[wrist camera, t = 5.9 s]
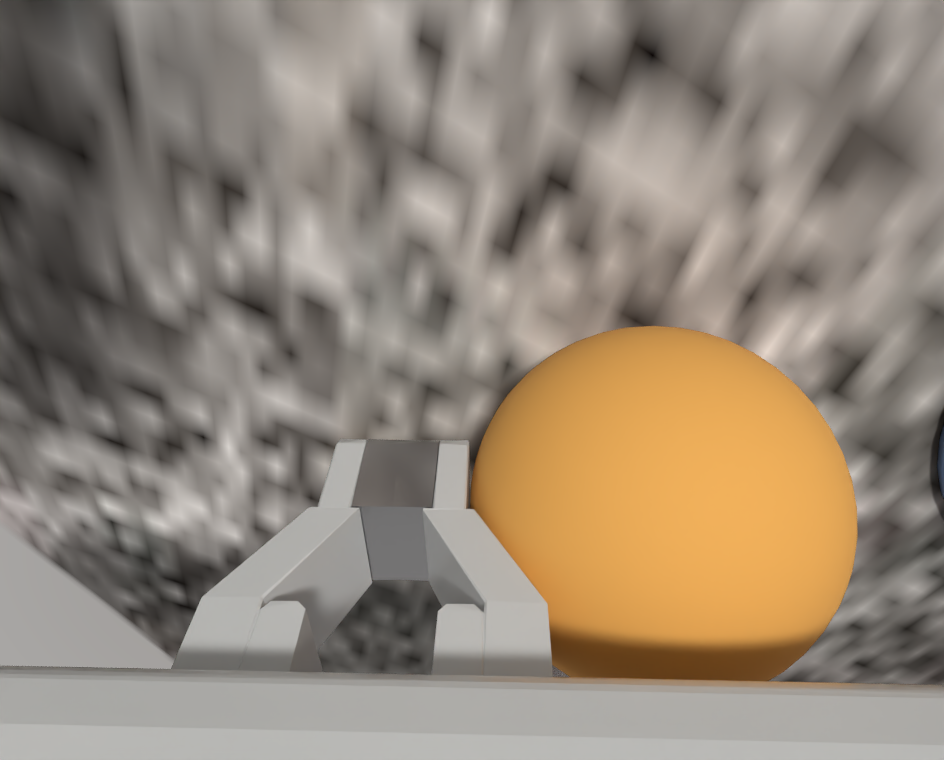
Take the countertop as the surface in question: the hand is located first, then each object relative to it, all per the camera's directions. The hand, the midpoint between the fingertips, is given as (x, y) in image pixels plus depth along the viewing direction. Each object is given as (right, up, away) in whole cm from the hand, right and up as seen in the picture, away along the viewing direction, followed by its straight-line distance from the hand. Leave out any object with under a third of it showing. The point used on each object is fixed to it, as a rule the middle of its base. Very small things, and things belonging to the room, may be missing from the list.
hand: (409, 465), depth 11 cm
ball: (+4, -1, -1) cm, 4 cm away
